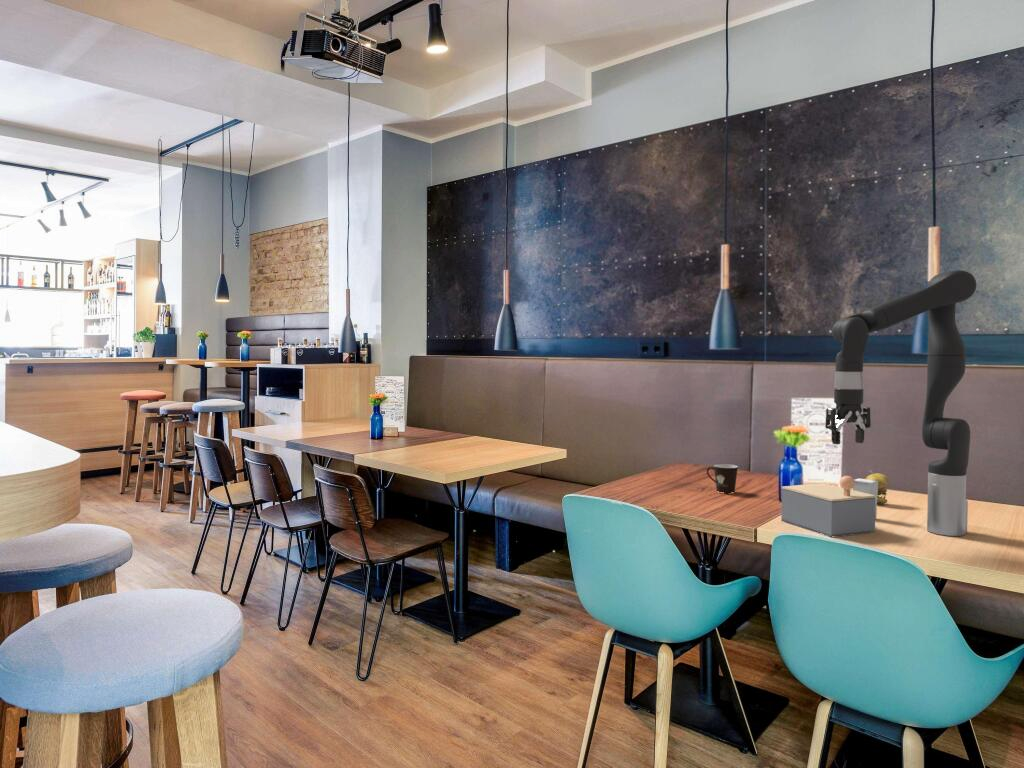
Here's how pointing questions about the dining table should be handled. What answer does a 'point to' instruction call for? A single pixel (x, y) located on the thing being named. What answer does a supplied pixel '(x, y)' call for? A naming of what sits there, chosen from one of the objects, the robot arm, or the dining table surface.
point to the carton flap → (831, 490)
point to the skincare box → (867, 488)
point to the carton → (828, 514)
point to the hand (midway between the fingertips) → (847, 443)
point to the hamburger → (879, 485)
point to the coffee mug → (724, 477)
